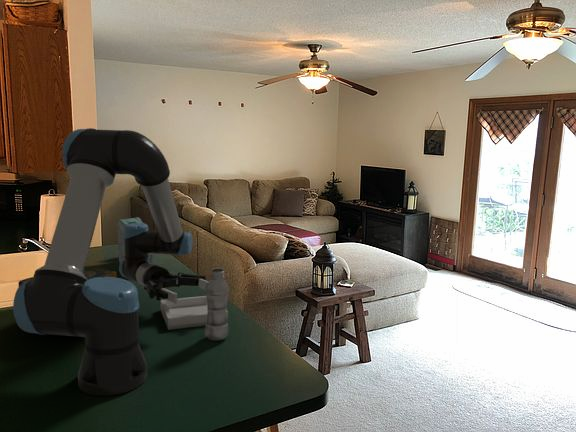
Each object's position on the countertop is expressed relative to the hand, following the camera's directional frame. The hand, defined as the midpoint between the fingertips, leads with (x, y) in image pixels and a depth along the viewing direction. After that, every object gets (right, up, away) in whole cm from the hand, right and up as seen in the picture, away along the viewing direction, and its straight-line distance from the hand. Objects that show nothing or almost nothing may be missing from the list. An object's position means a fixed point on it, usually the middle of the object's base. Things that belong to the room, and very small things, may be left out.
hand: (195, 293), depth 137 cm
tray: (-3, -9, +11) cm, 15 cm away
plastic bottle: (+7, -12, -4) cm, 15 cm away
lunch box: (-37, 0, +59) cm, 69 cm away
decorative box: (-37, -10, +1) cm, 38 cm away
